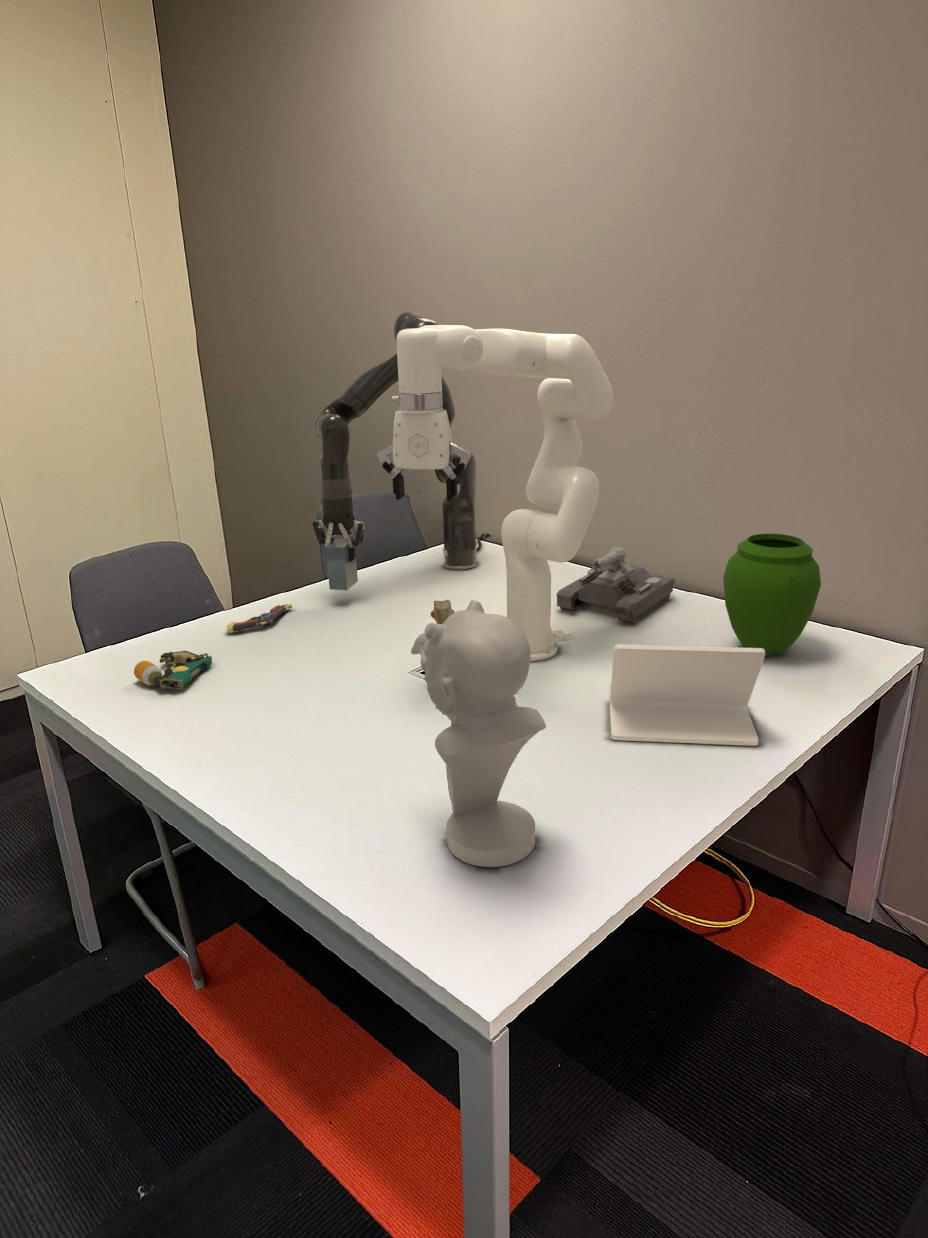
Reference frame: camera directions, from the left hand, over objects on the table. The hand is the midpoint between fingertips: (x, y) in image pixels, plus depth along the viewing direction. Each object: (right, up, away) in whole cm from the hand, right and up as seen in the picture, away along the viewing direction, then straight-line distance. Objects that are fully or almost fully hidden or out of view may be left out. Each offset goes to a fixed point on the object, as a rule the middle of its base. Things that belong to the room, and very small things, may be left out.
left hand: (342, 560), depth 218 cm
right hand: (+24, +7, -62) cm, 67 cm away
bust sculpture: (+32, -46, -93) cm, 109 cm away
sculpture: (+27, -26, -38) cm, 54 cm away
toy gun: (-19, -16, -8) cm, 26 cm away
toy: (+69, -12, -4) cm, 70 cm away
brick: (0, -6, +2) cm, 7 cm away
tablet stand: (+71, -34, -62) cm, 100 cm away
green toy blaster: (-29, -27, -37) cm, 55 cm away
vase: (+96, -22, -33) cm, 104 cm away
